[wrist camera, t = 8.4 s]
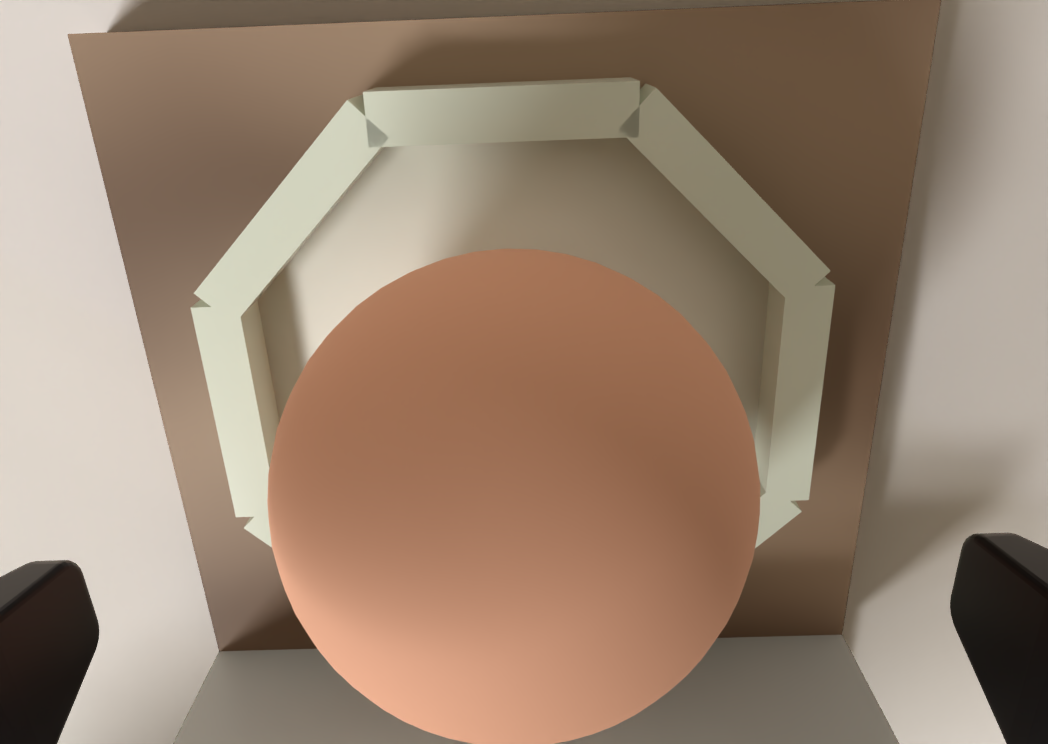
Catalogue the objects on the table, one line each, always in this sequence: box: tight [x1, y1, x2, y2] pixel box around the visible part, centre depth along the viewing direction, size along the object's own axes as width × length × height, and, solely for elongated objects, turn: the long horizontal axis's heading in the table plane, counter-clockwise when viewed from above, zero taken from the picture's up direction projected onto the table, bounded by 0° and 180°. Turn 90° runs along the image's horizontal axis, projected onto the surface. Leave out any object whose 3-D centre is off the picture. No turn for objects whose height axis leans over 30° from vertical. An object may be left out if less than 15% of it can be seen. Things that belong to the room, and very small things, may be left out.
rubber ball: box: [267, 249, 760, 744], centre depth 10 cm, size 6×6×6 cm
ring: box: [191, 77, 835, 548], centre depth 12 cm, size 9×9×1 cm
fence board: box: [68, 0, 941, 744], centre depth 14 cm, size 22×12×4 cm, turn 2°
